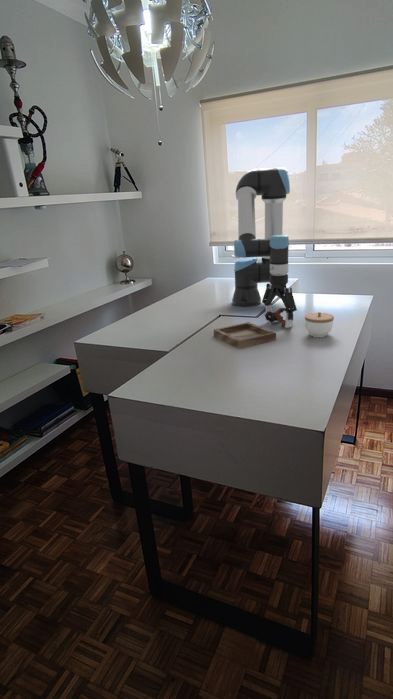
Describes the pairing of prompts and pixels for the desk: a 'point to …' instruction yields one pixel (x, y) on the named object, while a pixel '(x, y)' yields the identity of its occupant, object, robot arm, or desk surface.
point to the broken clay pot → (276, 316)
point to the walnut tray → (244, 335)
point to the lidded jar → (319, 324)
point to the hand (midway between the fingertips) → (278, 323)
